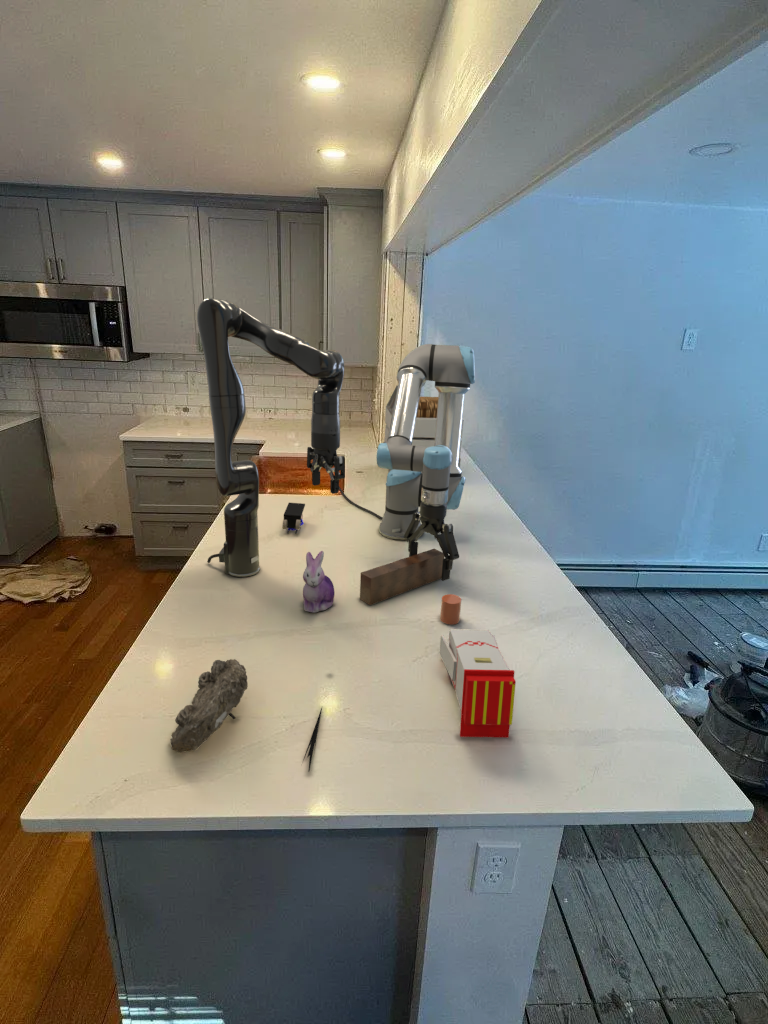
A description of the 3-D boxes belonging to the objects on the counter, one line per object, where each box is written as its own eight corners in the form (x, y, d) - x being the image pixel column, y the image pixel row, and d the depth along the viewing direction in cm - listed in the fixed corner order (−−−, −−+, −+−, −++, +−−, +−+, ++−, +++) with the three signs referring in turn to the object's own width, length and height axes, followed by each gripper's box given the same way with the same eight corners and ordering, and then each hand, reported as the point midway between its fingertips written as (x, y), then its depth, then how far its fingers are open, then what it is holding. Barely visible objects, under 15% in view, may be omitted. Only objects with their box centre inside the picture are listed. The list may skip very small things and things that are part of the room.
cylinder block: (435, 618, 146) (437, 597, 144) (449, 612, 149) (451, 592, 147) (450, 626, 143) (452, 605, 141) (463, 620, 146) (465, 599, 144)
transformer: (381, 463, 289) (385, 382, 275) (444, 464, 292) (450, 384, 279) (389, 482, 257) (393, 392, 243) (459, 483, 261) (467, 394, 247)
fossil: (195, 660, 117) (247, 628, 112) (227, 691, 120) (279, 661, 115) (146, 746, 98) (206, 711, 93) (185, 779, 101) (245, 748, 96)
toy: (489, 613, 130) (525, 677, 101) (485, 667, 133) (518, 744, 104) (437, 612, 130) (457, 676, 101) (434, 666, 133) (453, 743, 103)
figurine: (308, 617, 144) (307, 563, 139) (294, 599, 152) (294, 548, 147) (342, 610, 148) (343, 557, 143) (327, 592, 156) (328, 542, 151)
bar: (369, 605, 151) (371, 578, 148) (359, 599, 154) (360, 572, 151) (442, 577, 169) (444, 553, 166) (432, 572, 172) (434, 548, 169)
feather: (331, 679, 122) (336, 673, 122) (307, 777, 96) (313, 769, 95) (324, 675, 122) (329, 669, 121) (298, 772, 95) (304, 764, 95)
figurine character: (301, 540, 194) (306, 519, 208) (300, 520, 191) (305, 501, 204) (281, 539, 194) (287, 519, 207) (280, 519, 191) (287, 500, 204)
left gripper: (298, 426, 150) (299, 484, 156) (329, 436, 140) (329, 498, 146) (321, 423, 155) (321, 480, 160) (353, 433, 145) (352, 493, 150)
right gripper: (394, 493, 166) (390, 559, 173) (457, 517, 148) (451, 590, 155) (413, 489, 171) (408, 554, 178) (476, 512, 153) (469, 583, 160)
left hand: (325, 488), depth 153 cm, fingers open, 8 cm apart
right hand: (428, 571), depth 166 cm, fingers open, 13 cm apart
